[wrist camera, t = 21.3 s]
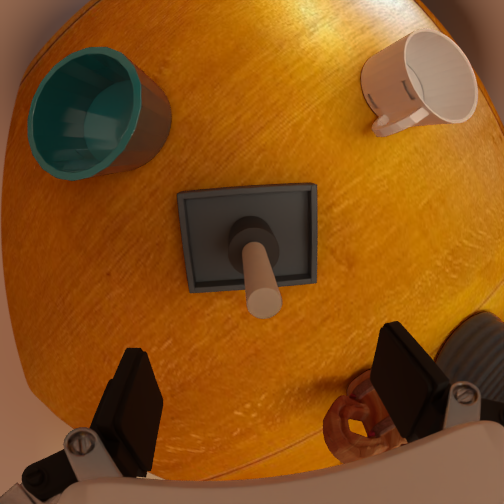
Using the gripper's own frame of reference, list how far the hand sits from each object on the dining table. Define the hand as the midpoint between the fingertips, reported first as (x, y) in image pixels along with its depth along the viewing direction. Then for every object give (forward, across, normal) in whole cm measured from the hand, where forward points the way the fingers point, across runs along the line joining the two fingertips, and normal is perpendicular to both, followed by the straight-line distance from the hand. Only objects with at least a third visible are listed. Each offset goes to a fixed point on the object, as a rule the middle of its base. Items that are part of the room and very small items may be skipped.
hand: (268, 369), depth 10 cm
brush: (+20, -1, 0) cm, 20 cm away
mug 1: (+20, -15, +23) cm, 34 cm away
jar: (+21, +11, -13) cm, 27 cm away
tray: (+20, -1, 0) cm, 20 cm away
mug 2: (+20, -17, -15) cm, 30 cm away
